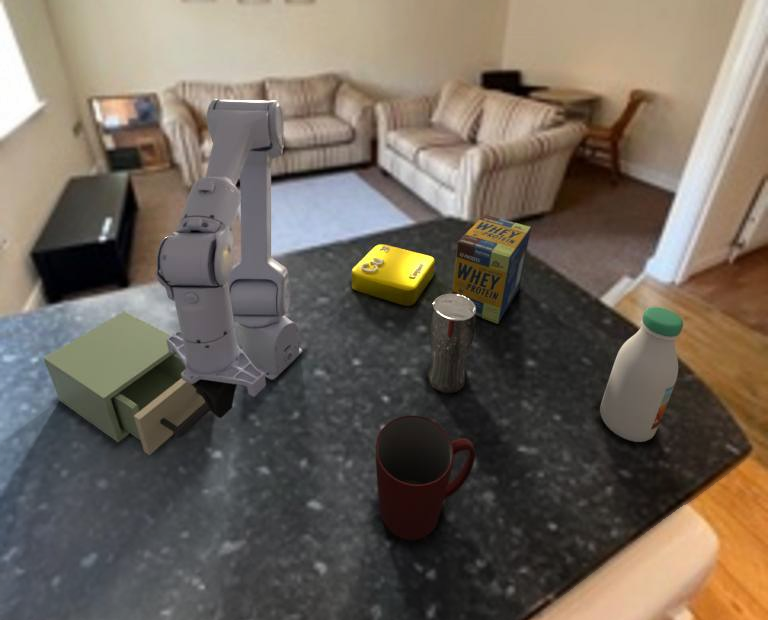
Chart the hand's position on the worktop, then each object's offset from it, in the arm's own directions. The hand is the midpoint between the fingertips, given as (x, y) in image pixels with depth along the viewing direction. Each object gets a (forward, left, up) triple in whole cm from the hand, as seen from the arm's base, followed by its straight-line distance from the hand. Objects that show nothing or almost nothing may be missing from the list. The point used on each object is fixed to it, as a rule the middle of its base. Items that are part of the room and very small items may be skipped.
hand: (222, 410), depth 57 cm
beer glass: (-20, -28, -9) cm, 36 cm away
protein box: (-19, -54, -9) cm, 58 cm away
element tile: (+1, -49, -9) cm, 50 cm away
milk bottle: (-47, -34, -9) cm, 59 cm away
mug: (-25, -7, -9) cm, 28 cm away
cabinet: (+23, 0, -9) cm, 24 cm away
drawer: (+14, 0, -8) cm, 16 cm away
